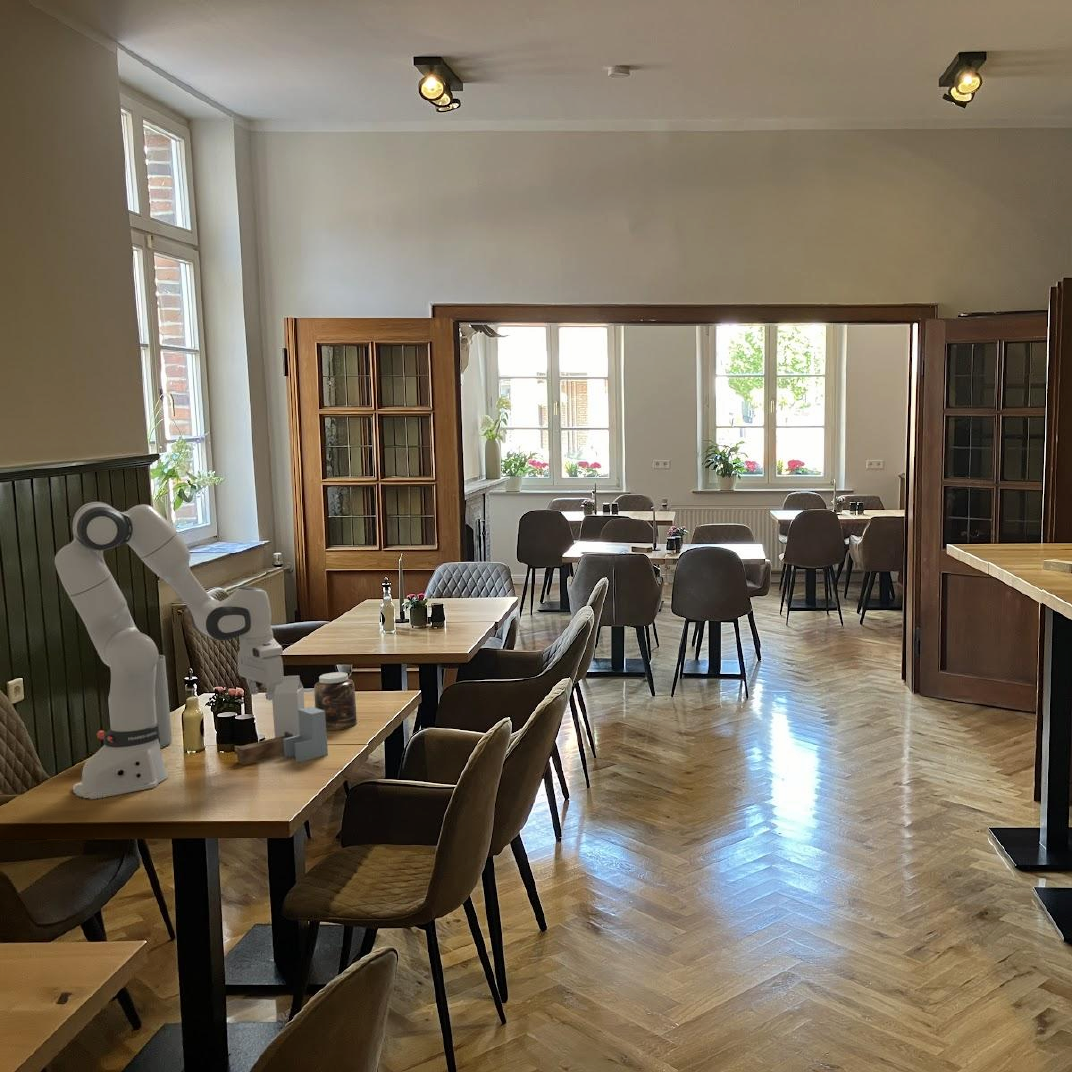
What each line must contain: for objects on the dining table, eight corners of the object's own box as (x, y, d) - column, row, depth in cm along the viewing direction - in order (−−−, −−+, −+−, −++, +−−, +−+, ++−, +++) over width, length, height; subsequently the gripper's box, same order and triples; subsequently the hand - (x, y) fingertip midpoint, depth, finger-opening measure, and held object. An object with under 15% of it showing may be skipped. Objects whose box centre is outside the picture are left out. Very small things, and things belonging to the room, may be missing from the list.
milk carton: (300, 745, 297) (296, 678, 295) (275, 746, 297) (270, 679, 295) (306, 738, 304) (302, 672, 302) (282, 739, 304) (277, 673, 302)
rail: (243, 764, 282) (242, 746, 281) (237, 761, 284) (236, 743, 284) (293, 751, 291) (292, 734, 291) (287, 749, 294) (286, 731, 293)
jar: (322, 720, 323) (318, 671, 321) (360, 719, 322) (357, 670, 321) (312, 731, 311) (308, 680, 309) (352, 730, 310) (348, 679, 309)
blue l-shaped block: (297, 762, 281) (294, 718, 280) (284, 757, 287) (281, 713, 285) (327, 754, 287) (324, 711, 286) (314, 749, 292) (311, 706, 291)
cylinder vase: (123, 744, 307) (115, 658, 305) (168, 736, 313) (161, 652, 310) (128, 754, 296) (120, 666, 294) (175, 746, 302) (168, 659, 299)
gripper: (229, 643, 291) (234, 693, 292) (263, 653, 275) (268, 705, 277) (250, 639, 295) (255, 688, 296) (285, 648, 279) (290, 700, 281)
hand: (262, 696), depth 286 cm, fingers open, 8 cm apart
